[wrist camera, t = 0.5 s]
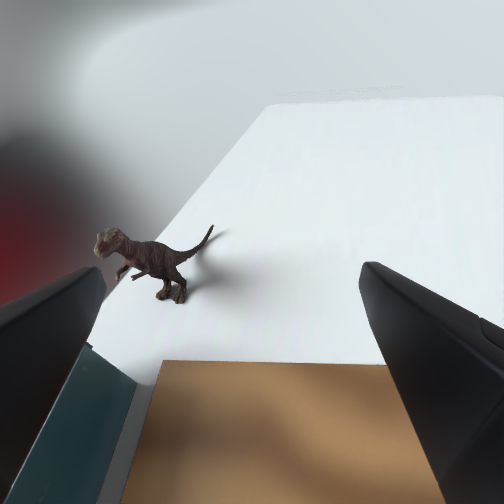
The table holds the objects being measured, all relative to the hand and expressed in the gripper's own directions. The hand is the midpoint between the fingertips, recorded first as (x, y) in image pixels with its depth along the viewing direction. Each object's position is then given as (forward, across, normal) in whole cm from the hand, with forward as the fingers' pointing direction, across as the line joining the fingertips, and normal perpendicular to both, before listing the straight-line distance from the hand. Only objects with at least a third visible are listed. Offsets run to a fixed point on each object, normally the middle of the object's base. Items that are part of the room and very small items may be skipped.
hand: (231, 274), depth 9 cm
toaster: (+3, +14, +19) cm, 24 cm away
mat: (+1, -2, +18) cm, 18 cm away
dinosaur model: (+20, +8, +14) cm, 26 cm away
